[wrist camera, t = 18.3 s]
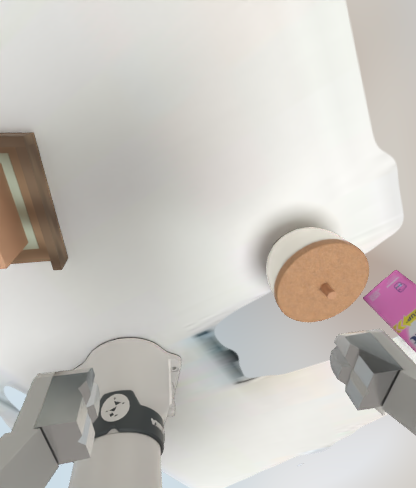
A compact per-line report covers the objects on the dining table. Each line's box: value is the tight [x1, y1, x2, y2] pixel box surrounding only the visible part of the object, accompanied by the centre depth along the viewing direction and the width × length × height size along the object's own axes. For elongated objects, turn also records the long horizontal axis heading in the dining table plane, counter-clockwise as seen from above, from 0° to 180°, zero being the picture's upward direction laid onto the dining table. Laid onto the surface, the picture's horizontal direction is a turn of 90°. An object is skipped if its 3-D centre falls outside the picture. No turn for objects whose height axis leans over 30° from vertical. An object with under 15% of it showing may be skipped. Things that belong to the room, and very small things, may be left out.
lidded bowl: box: [266, 227, 369, 322], centre depth 39 cm, size 13×13×11 cm
